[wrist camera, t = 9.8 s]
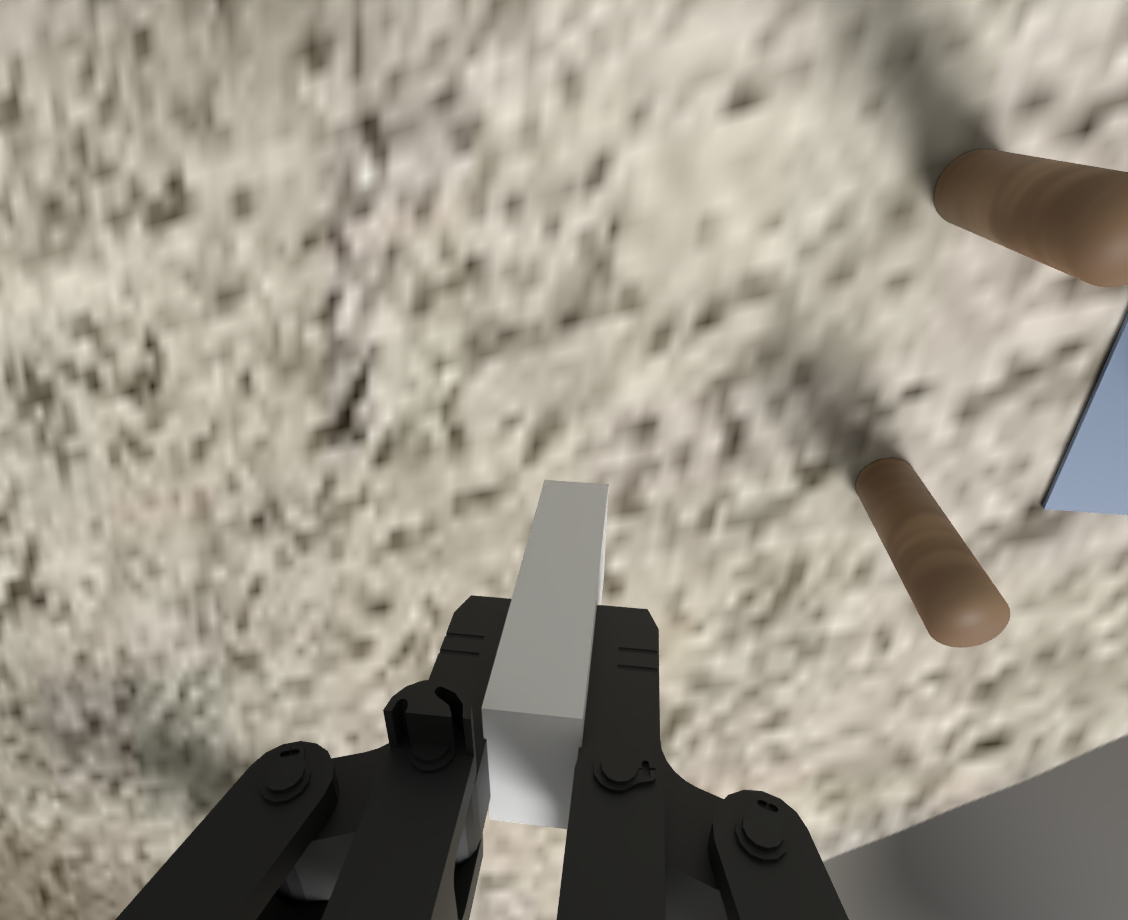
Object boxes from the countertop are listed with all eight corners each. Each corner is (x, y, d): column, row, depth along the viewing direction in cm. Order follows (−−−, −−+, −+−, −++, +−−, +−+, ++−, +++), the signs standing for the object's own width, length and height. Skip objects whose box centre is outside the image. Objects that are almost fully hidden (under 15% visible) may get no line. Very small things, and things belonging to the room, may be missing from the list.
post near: (945, 148, 23) (1092, 175, 16) (1023, 149, 23) (1212, 178, 15) (925, 224, 25) (1051, 285, 17) (998, 226, 24) (1160, 289, 17)
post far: (863, 456, 30) (938, 586, 22) (923, 460, 29) (1021, 593, 22) (849, 504, 31) (917, 643, 23) (907, 508, 31) (995, 650, 23)
